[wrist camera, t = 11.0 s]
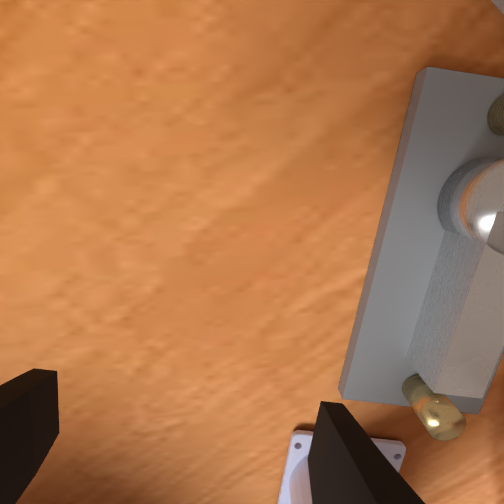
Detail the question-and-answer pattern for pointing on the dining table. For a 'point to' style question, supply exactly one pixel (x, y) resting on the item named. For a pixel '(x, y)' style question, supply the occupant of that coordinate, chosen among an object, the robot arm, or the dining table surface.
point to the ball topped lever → (465, 285)
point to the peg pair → (414, 387)
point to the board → (416, 230)
